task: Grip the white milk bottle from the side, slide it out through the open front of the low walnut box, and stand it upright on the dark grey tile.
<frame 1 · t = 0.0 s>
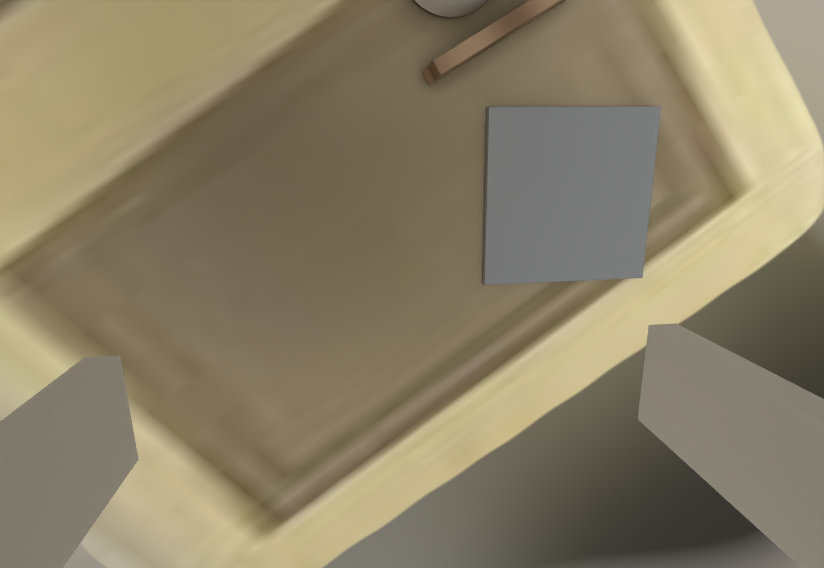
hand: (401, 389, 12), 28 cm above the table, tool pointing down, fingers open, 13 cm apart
grey tile: (566, 197, 41), on the table
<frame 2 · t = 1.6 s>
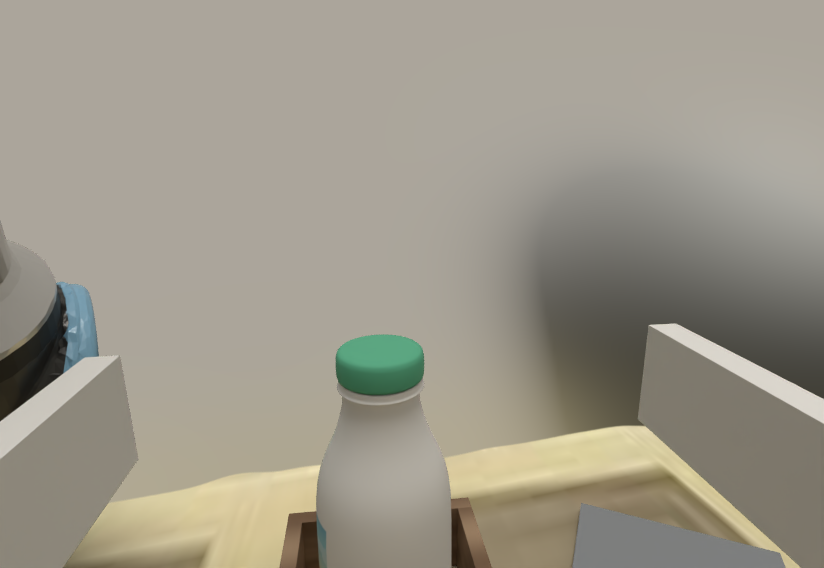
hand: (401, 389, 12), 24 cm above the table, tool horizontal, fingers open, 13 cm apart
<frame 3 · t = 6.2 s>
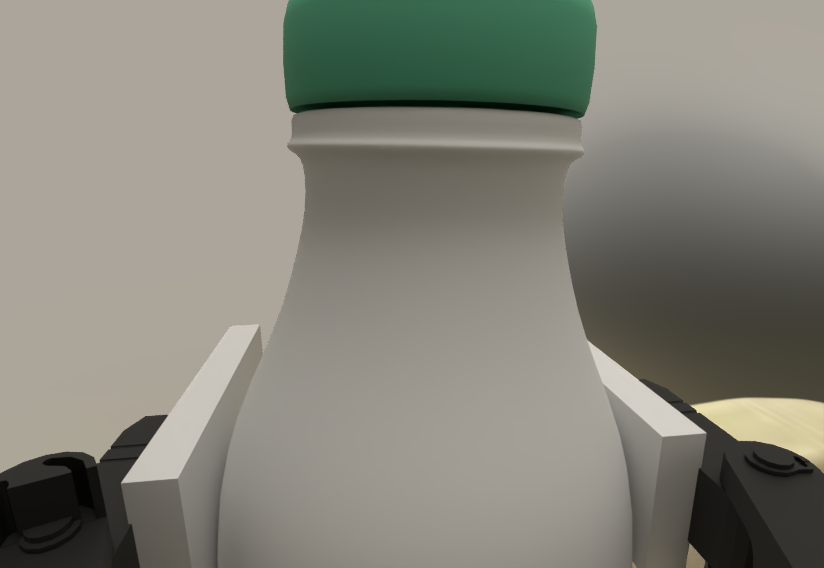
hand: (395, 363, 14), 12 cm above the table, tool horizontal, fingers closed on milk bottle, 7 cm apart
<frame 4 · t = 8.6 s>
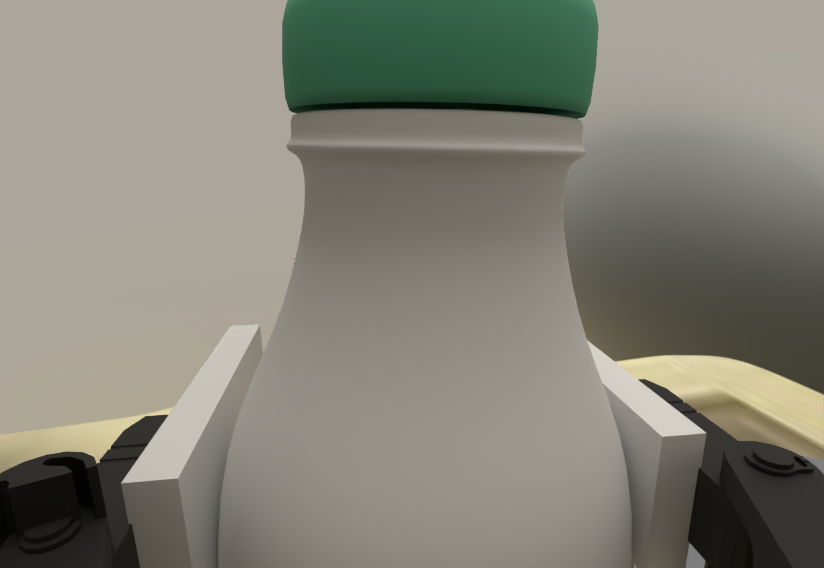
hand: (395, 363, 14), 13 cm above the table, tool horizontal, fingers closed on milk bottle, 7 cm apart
grey tile: (787, 538, 24), on the table
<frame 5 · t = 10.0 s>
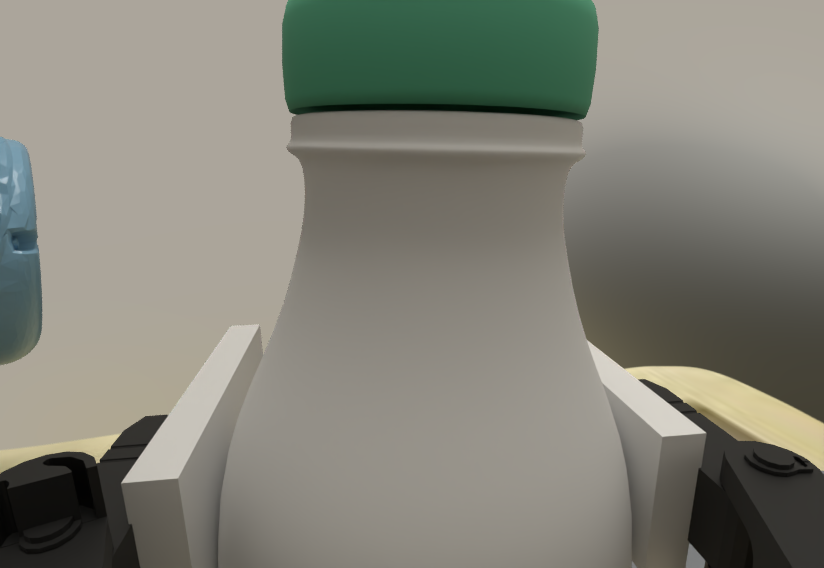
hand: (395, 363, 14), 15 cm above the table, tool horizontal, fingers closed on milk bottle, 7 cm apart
grey tile: (734, 530, 28), on the table
when the fingers open (14 cm above the table, at t = 14.3 s): milk bottle stays where it is, resting on grey tile.
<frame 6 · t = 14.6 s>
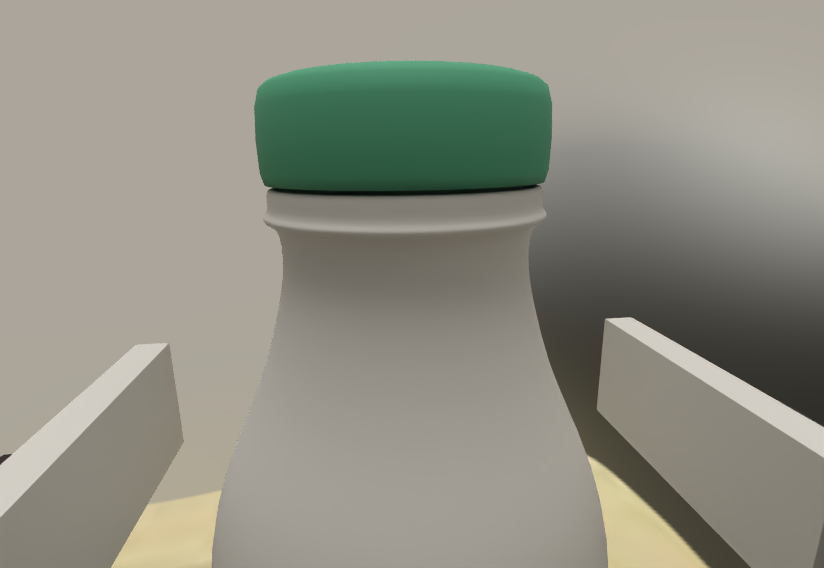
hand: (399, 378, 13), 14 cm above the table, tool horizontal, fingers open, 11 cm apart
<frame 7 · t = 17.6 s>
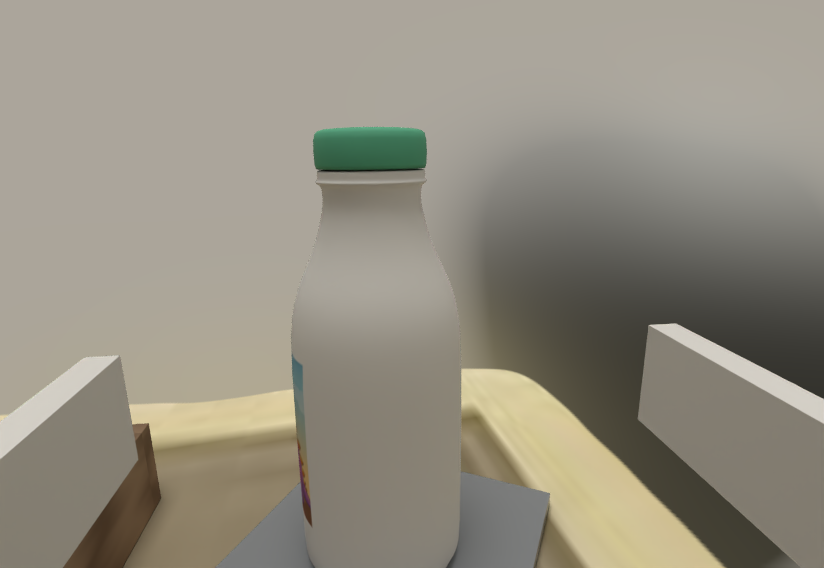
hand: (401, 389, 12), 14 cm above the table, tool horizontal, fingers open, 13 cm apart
grey tile: (388, 557, 25), on the table
milk bottle: (383, 542, 25), point 1 cm above the table, touching grey tile
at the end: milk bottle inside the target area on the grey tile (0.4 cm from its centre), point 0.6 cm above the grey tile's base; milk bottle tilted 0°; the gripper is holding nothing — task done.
